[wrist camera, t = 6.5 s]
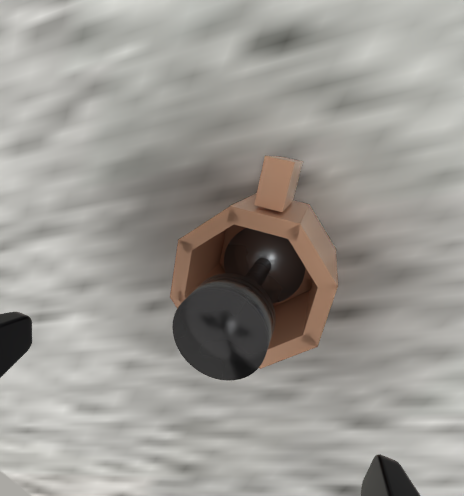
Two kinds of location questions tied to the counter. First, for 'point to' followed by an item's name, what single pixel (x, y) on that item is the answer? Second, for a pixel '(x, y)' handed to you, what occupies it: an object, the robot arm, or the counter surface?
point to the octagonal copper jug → (280, 224)
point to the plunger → (238, 306)
